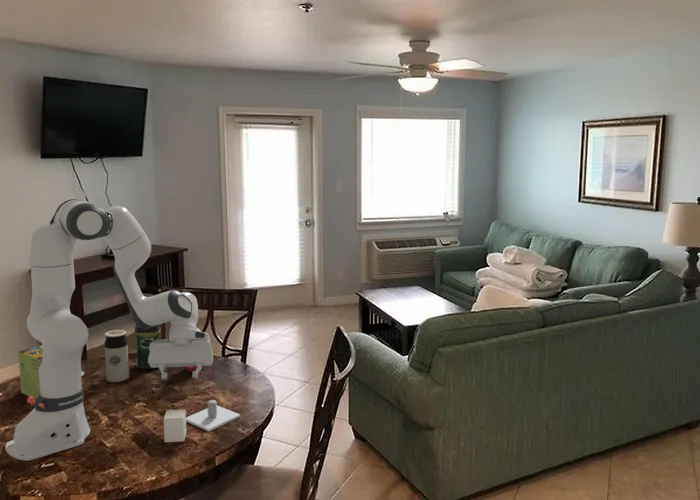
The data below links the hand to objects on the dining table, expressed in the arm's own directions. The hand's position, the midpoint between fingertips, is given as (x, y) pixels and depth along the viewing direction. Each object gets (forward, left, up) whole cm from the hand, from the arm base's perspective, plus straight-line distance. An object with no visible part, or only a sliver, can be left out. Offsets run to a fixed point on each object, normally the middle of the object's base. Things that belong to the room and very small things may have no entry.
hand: (179, 378), depth 184 cm
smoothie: (+31, +33, -14) cm, 47 cm away
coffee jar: (+22, +49, -14) cm, 55 cm away
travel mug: (+7, +47, -14) cm, 49 cm away
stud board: (+7, -7, -14) cm, 17 cm away
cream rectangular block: (-8, -8, -14) cm, 18 cm away
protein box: (-16, +54, -14) cm, 58 cm away
